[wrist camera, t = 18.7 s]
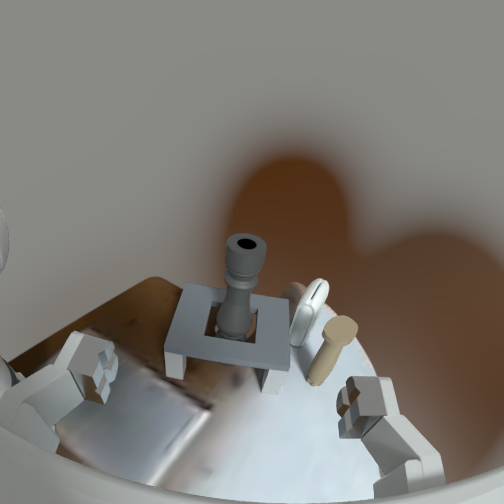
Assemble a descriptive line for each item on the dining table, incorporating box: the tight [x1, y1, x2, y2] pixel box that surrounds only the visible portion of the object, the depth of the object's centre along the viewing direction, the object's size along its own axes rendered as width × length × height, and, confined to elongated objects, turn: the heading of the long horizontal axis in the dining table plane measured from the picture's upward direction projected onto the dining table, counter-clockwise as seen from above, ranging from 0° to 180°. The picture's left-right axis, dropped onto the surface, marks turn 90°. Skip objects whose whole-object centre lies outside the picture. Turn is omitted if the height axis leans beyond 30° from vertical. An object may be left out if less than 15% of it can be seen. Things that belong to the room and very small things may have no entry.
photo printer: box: [289, 278, 329, 347], centre depth 63 cm, size 10×4×12 cm, turn 151°
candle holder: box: [215, 233, 267, 366], centre depth 52 cm, size 6×6×25 cm
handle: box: [307, 316, 358, 386], centre depth 52 cm, size 5×6×15 cm
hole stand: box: [164, 283, 290, 395], centre depth 57 cm, size 20×16×9 cm
